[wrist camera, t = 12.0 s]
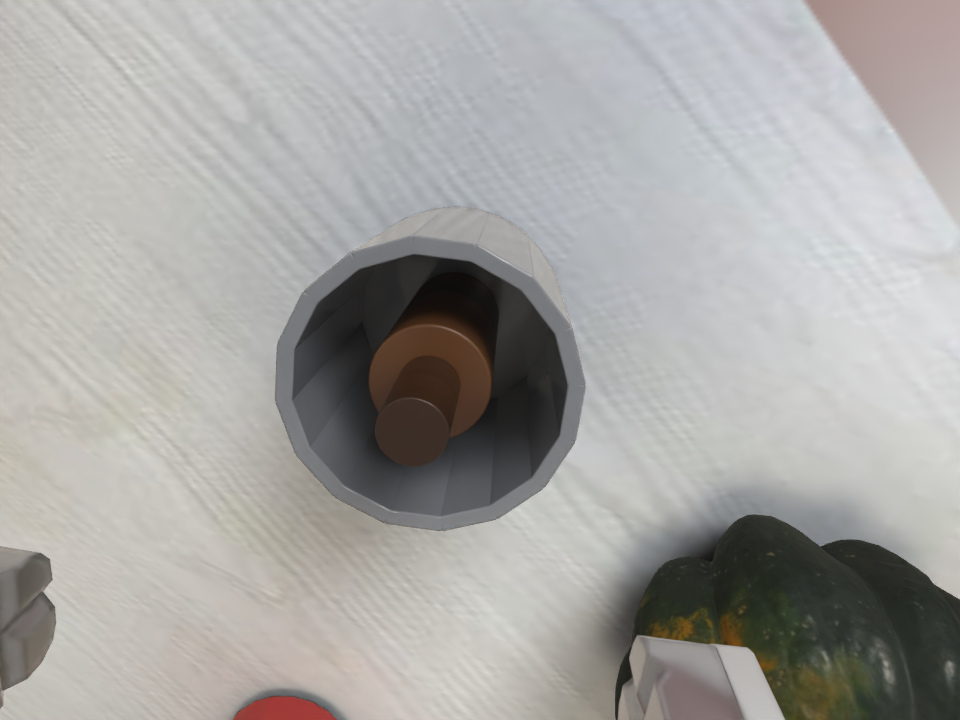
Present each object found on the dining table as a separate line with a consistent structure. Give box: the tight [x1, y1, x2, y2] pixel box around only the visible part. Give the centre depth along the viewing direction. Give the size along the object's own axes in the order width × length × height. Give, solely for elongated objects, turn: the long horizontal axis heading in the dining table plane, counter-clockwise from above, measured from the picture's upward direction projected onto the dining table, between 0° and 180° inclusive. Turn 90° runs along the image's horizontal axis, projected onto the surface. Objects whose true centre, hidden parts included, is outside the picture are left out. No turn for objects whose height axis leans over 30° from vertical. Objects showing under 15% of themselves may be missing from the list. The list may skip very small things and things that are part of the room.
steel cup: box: [275, 207, 586, 531], centre depth 24 cm, size 9×9×10 cm
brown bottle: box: [368, 272, 499, 466], centre depth 22 cm, size 4×4×12 cm
